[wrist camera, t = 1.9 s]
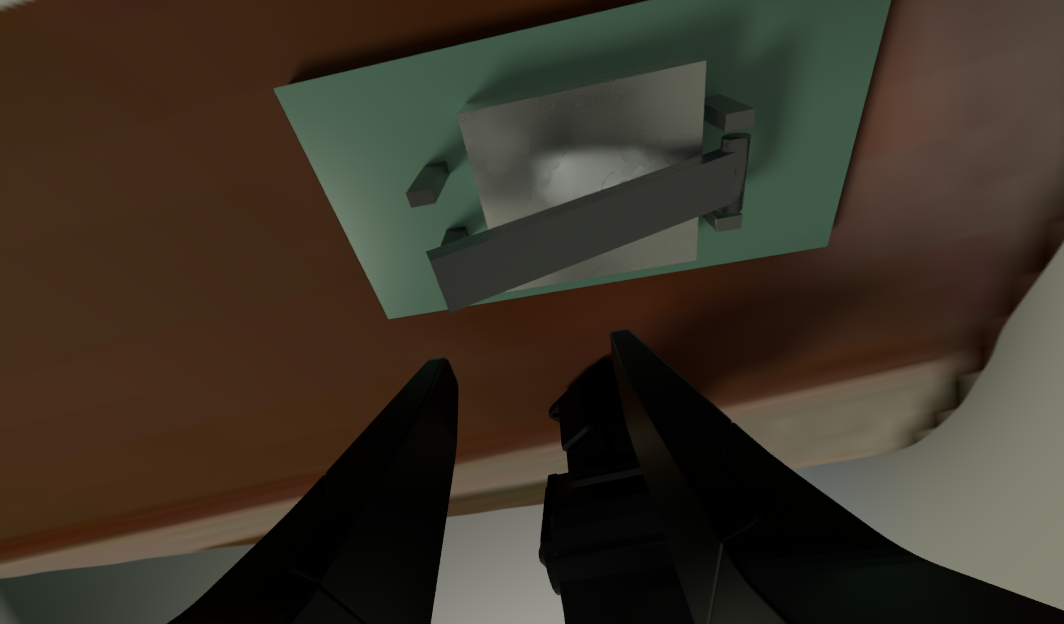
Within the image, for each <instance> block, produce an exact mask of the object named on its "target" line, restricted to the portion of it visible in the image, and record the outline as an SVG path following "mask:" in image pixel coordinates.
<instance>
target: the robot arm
mask: <svg viewBox="0 0 1064 624" xmlns="http://www.w3.org/2000/svg"><path fill="white" fill-rule="evenodd" d="M610 340H611V350H612V359H613V362H611V361H609V360H601V361H599V362H598V363H597V364H596V365H595V366H594V367H593V368H592V369H591V370H590V371H589V372H587V373H586V374H585V375H584V376H583V377H582V378H581V379H580V380H578V381H577V382H576V383H575V384H574V385H573V386H572V387H571V388H570V389H569V390H568V391H567V392H566V393H565V394H564V395H563V396H562V397H561V398H560V399H559V400H558V401H557V402H556V403H555V404H554V405H553V406H552V407H551V408H550V409H549V417H550V418H551V419H553V420H556V421H558V422H560V430H561V443H562V449H563V450H564V451H566V452H567V462H568V473H563V474H557V473H556V474H551V475H548V482H547V487H546V490H545V500H544V510H543V519H542V530H541V539H540V540H541V541H540V542H541V545H540V549H539V559H540V562H541V563H542V564H543V565H544V566H545V567H546V568H547V573H548V576H549V579H550V582H551V585H552V588H553V590H554V591H555V593H556V594H557V595H561V600H562V605H563V611H564V617H565V624H1064V611H1063V610H1061V609H1058V608H1055V607H1053V606H1050V605H1047V604H1044V603H1042V602H1039V601H1036V600H1033V599H1031V598H1028V597H1025V596H1022V595H1020V594H1017V593H1014V592H1011V591H1009V590H1006V589H1003V588H1000V587H998V586H995V585H992V584H989V583H987V582H984V581H981V580H978V579H976V578H973V577H970V576H967V575H965V574H962V573H959V572H957V571H954V570H951V569H948V568H946V567H943V566H940V565H938V564H935V563H932V562H930V561H928V560H926V559H924V558H921V557H919V556H917V555H915V554H913V553H912V552H910V551H907V550H906V549H904V548H902V547H900V546H899V545H897V544H895V543H894V542H892V541H890V540H889V539H887V538H886V537H884V536H883V535H881V534H880V533H878V532H877V531H875V530H874V529H873V528H871V527H870V526H868V525H867V524H866V523H864V522H863V521H861V520H860V519H859V518H857V517H856V516H855V515H853V514H852V513H850V512H849V511H848V510H846V509H845V508H844V507H842V506H841V505H839V504H838V503H837V502H835V501H834V500H833V499H831V498H830V497H828V496H827V495H826V494H824V493H823V492H821V491H820V490H819V489H817V488H816V487H815V486H813V485H812V484H810V483H809V482H808V481H806V480H805V479H804V478H802V477H801V476H799V475H798V474H797V473H795V472H794V471H793V470H791V469H790V468H789V467H787V466H786V465H785V464H784V463H782V462H781V461H780V460H778V459H777V458H776V457H774V456H773V455H772V454H770V453H769V452H768V451H767V450H766V449H764V448H763V447H762V446H761V445H760V444H759V443H757V442H756V441H755V440H754V439H753V438H751V437H750V436H749V435H748V434H747V433H746V432H744V431H743V430H742V429H741V428H740V427H739V426H738V425H737V424H735V423H732V421H731V419H730V418H728V417H727V416H726V415H725V414H724V413H723V412H722V411H721V410H719V409H718V408H717V407H716V406H715V405H714V404H713V403H711V402H710V401H709V400H708V399H707V398H706V397H705V396H704V395H702V394H701V393H700V392H699V391H698V390H697V389H696V388H695V387H693V386H692V385H691V384H690V383H689V382H688V381H687V380H685V379H684V378H683V377H682V376H681V375H680V374H679V373H678V372H676V371H675V370H674V369H673V368H672V367H671V366H670V365H668V364H667V363H666V362H665V361H664V360H663V359H662V358H661V357H659V356H658V355H657V354H656V353H655V352H654V351H653V350H652V349H650V348H649V347H648V346H647V345H646V344H645V343H644V342H642V341H641V340H640V339H639V338H638V337H637V336H636V335H635V334H633V333H632V332H631V331H630V330H628V329H622V330H616V331H612V332H611V333H610ZM605 366H606V368H602V367H605ZM457 424H458V383H457V380H456V377H455V375H454V373H453V370H452V368H451V366H450V363H449V361H448V360H447V359H446V358H444V357H441V358H435V359H430V360H428V361H427V362H426V363H425V364H424V365H423V366H422V368H421V369H420V370H419V371H418V372H417V373H416V374H415V375H414V376H413V377H412V378H411V380H410V381H409V382H408V383H407V384H406V385H405V386H404V387H403V388H402V389H401V391H400V392H399V393H398V394H397V395H396V396H395V397H394V398H393V399H392V400H391V402H390V403H389V404H388V405H387V406H386V407H385V408H384V409H383V410H382V411H381V413H380V414H379V415H378V416H377V417H376V418H375V419H374V420H373V421H372V422H371V423H370V425H369V426H368V427H367V428H366V429H365V430H364V431H363V432H362V433H361V434H360V436H359V437H358V438H357V439H356V440H355V441H354V442H353V443H352V444H351V445H350V447H349V448H348V449H347V450H346V451H345V452H344V453H343V454H342V455H341V456H340V458H339V459H338V460H337V461H336V462H335V463H334V464H333V465H332V466H331V467H330V468H329V470H328V471H327V472H326V475H323V476H322V477H321V478H320V479H319V480H318V481H317V483H316V484H315V485H314V486H313V487H312V488H311V489H310V490H309V491H308V492H307V493H306V494H305V496H304V497H303V498H302V499H301V500H300V501H299V502H298V503H297V504H296V505H295V506H294V507H293V508H292V509H291V510H290V511H289V512H288V513H287V514H286V515H285V516H284V517H283V518H282V519H281V520H280V521H279V522H278V523H277V524H276V525H275V526H274V527H273V528H272V529H271V530H270V531H269V532H268V533H267V534H266V535H265V536H264V537H263V538H262V539H261V540H260V541H259V542H258V543H257V544H256V545H255V546H254V547H253V548H252V549H251V550H250V551H248V552H247V553H246V554H245V555H244V556H243V557H242V558H241V559H240V560H239V561H238V562H237V563H236V564H235V565H234V566H233V567H232V568H231V569H230V570H229V571H228V572H227V573H226V574H225V575H223V577H222V578H220V579H219V580H218V581H217V582H216V583H215V584H214V585H213V586H212V587H211V588H210V589H209V590H208V591H207V592H206V593H205V594H204V595H203V596H201V597H200V598H199V599H198V600H197V601H196V602H195V603H194V604H193V605H191V606H190V607H189V608H188V609H186V610H185V611H184V612H183V613H181V614H180V615H179V616H177V617H176V618H174V619H173V620H171V621H170V622H168V623H167V624H431V618H432V612H433V605H434V598H435V592H436V585H437V577H438V571H439V565H440V557H441V551H442V544H443V538H444V531H445V524H446V518H447V511H448V504H449V497H450V491H451V484H452V477H453V470H454V464H455V457H456V448H457Z"/></svg>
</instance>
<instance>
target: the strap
mask: <svg viewBox="0 0 1064 624" xmlns="http://www.w3.org/2000/svg"><path fill="white" fill-rule="evenodd" d="M750 141H751V134H749V133H731V134H727V135H724V136H722V137H721V145H720V149H717V150H714V151H712V152H709V153H706V154H703V155H700V156H697V157H694V158H692V159H689V160H686V161H683V162H680V163H677V164H674V165H672V166H669V167H666V168H663V169H660V170H657V171H654V172H651V173H649V174H646V175H643V176H640V177H637V178H634V179H631V180H629V181H626V182H623V183H620V184H617V185H614V186H611V187H609V188H606V189H603V190H600V191H597V192H594V193H591V194H589V195H586V196H583V197H580V198H577V199H574V200H571V201H569V202H566V203H563V204H560V205H557V206H554V207H551V208H549V209H546V210H543V211H540V212H537V213H534V214H531V215H529V216H526V217H523V218H520V219H517V220H514V221H511V222H509V223H506V224H503V225H500V226H497V227H494V228H491V229H489V230H486V231H483V232H480V233H477V234H474V235H471V236H469V237H466V238H463V239H460V240H457V241H454V242H451V243H449V244H446V245H443V246H440V247H437V248H434V249H431V250H429V251H426V254H427V256H428V259H429V262H430V264H431V267H432V269H433V272H434V275H435V277H436V280H437V282H438V285H439V288H440V290H441V293H442V295H443V298H444V301H445V303H446V305H447V307H448V310H449V312H450V313H451V312H454V311H456V310H459V309H461V308H464V307H467V306H469V305H472V304H474V303H477V302H479V301H482V300H485V299H487V298H490V297H492V296H495V295H497V294H500V293H503V292H505V291H508V290H510V289H513V288H516V287H518V286H521V285H523V284H526V283H528V282H531V281H534V280H536V279H539V278H541V277H544V276H547V275H549V274H552V273H554V272H557V271H559V270H562V269H565V268H567V267H570V266H572V265H575V264H578V263H580V262H583V261H585V260H588V259H590V258H593V257H596V256H598V255H601V254H603V253H606V252H608V251H611V250H614V249H616V248H619V247H621V246H624V245H627V244H629V243H632V242H634V241H637V240H639V239H642V238H645V237H647V236H650V235H652V234H655V233H658V232H660V231H663V230H665V229H668V228H670V227H673V226H676V225H678V224H681V223H683V222H686V221H689V220H691V219H694V218H696V217H699V216H701V215H704V214H707V213H709V212H712V211H714V210H717V211H718V212H721V213H736V212H739V211H741V210H742V209H743V201H744V193H745V184H746V176H747V167H748V159H749V150H750Z"/></svg>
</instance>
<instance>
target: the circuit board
mask: <svg viewBox="0 0 1064 624" xmlns="http://www.w3.org/2000/svg"><path fill="white" fill-rule="evenodd" d="M890 3H891V0H646V1H642V2H637V3H633V4H629V5H625V6H620V7H616V8H612V9H607V10H603V11H599V12H595V13H590V14H586V15H582V16H578V17H573V18H569V19H565V20H561V21H556V22H552V23H548V24H544V25H539V26H535V27H531V28H527V29H522V30H518V31H514V32H509V33H505V34H501V35H497V36H492V37H488V38H484V39H480V40H475V41H471V42H467V43H463V44H458V45H454V46H450V47H446V48H441V49H437V50H433V51H428V52H424V53H420V54H416V55H411V56H407V57H403V58H399V59H394V60H390V61H386V62H382V63H377V64H373V65H369V66H365V67H360V68H356V69H352V70H348V71H343V72H339V73H335V74H330V75H326V76H322V77H318V78H313V79H309V80H305V81H301V82H296V83H292V84H288V85H284V86H281V87H277V88H274V91H275V93H276V95H277V97H278V99H279V101H280V103H281V105H282V107H283V109H284V111H285V113H286V115H287V117H288V119H289V121H290V123H291V125H292V127H293V129H294V131H295V133H296V135H297V137H298V139H299V141H300V143H301V145H302V147H303V149H304V151H305V153H306V155H307V157H308V159H309V161H310V163H311V165H312V167H313V169H314V171H315V173H316V175H317V177H318V179H319V181H320V183H321V185H322V187H323V189H324V191H325V193H326V195H327V197H328V199H329V201H330V203H331V205H332V207H333V209H334V211H335V213H336V215H337V217H338V219H339V221H340V223H341V225H342V227H343V229H344V231H345V233H346V235H347V237H348V239H349V241H350V243H351V245H352V247H353V249H354V251H355V253H356V255H357V257H358V259H359V261H360V263H361V265H362V267H363V269H364V271H365V273H366V275H367V277H368V279H369V281H370V283H371V285H372V287H373V289H374V291H375V293H376V295H377V297H378V299H379V301H380V303H381V305H382V307H383V309H384V311H385V313H386V315H387V317H388V319H392V318H399V317H405V316H411V315H417V314H423V313H429V312H435V311H441V310H447V309H448V307H447V305H446V303H445V301H444V298H443V295H442V293H441V290H440V288H439V285H438V282H437V280H436V277H435V275H434V272H433V269H432V267H431V264H430V262H429V259H428V256H427V254H426V251H429V250H431V249H434V248H437V247H440V246H441V243H442V240H443V238H444V235H445V232H446V230H447V229H452V228H458V227H463V226H466V228H467V231H468V234H469V236H471V235H474V234H477V233H480V232H483V231H486V230H488V226H487V223H486V219H485V216H484V212H483V208H482V205H481V201H480V197H479V194H478V190H477V186H476V183H475V179H474V176H473V172H472V168H471V165H470V161H469V157H468V154H467V150H466V147H465V143H464V139H463V136H462V132H461V128H460V125H459V121H458V117H457V113H458V112H459V110H460V109H461V108H462V106H463V105H464V104H465V103H468V102H473V101H477V100H482V99H486V98H491V97H495V96H500V95H505V94H509V93H514V92H518V91H523V90H527V89H532V88H537V87H541V86H546V85H550V84H555V83H559V82H564V81H569V80H573V79H578V78H582V77H587V76H591V75H596V74H600V73H605V72H610V71H614V70H619V69H623V68H628V67H632V66H637V65H642V64H646V63H651V62H655V61H660V60H664V59H669V58H674V57H678V56H683V55H687V56H691V57H695V58H699V59H703V60H706V79H705V98H706V97H711V96H715V95H720V94H721V95H723V96H726V97H728V98H731V99H733V100H736V101H738V102H740V103H743V104H745V105H748V106H750V107H753V108H755V117H754V126H753V127H749V128H744V129H739V130H734V131H729V132H723V131H722V130H720V129H718V128H717V127H715V126H713V125H711V124H710V123H708V122H706V121H705V120H703V138H702V155H703V154H706V153H709V152H712V151H714V150H717V149H720V145H721V137H722V136H724V135H727V134H731V133H749V134H751V141H750V150H749V159H748V167H747V176H746V184H745V193H744V201H743V209H742V210H741V211H740V212H741V213H742V214H743V218H742V227H741V228H739V229H733V230H727V231H722V232H716V231H715V230H714V229H713V228H712V226H711V225H710V224H709V223H708V222H707V221H706V220H705V218H704V217H703V216H702V215H701V216H699V217H698V236H697V255H696V260H695V261H689V262H683V263H677V264H671V265H665V266H659V267H653V268H647V269H641V270H635V271H629V272H623V273H618V274H612V275H606V276H600V277H594V278H588V279H582V280H576V281H570V282H564V283H558V284H552V285H546V286H540V287H534V288H528V289H522V290H516V291H510V292H503V293H500V294H497V295H495V296H492V297H490V298H487V299H485V300H482V301H479V302H477V303H474V304H472V305H477V304H483V303H489V302H495V301H501V300H507V299H513V298H519V297H525V296H531V295H537V294H543V293H549V292H555V291H561V290H568V289H574V288H580V287H586V286H592V285H598V284H604V283H610V282H616V281H622V280H628V279H634V278H640V277H646V276H652V275H658V274H664V273H670V272H676V271H682V270H688V269H694V268H700V267H706V266H712V265H718V264H724V263H731V262H737V261H743V260H749V259H755V258H761V257H767V256H773V255H779V254H785V253H791V252H797V251H803V250H809V249H815V248H821V247H827V246H828V242H829V238H830V234H831V230H832V226H833V223H834V219H835V215H836V211H837V207H838V203H839V199H840V196H841V192H842V188H843V184H844V180H845V176H846V172H847V169H848V165H849V161H850V157H851V153H852V149H853V145H854V142H855V138H856V134H857V130H858V126H859V122H860V119H861V115H862V111H863V107H864V103H865V99H866V95H867V92H868V88H869V84H870V80H871V76H872V72H873V68H874V65H875V61H876V57H877V53H878V49H879V45H880V41H881V38H882V34H883V30H884V26H885V22H886V18H887V14H888V11H889V7H890ZM443 161H446V163H447V166H448V170H449V173H450V175H449V177H448V179H447V181H446V183H445V185H444V187H443V189H442V191H441V193H440V195H439V198H438V200H437V202H436V203H435V204H429V205H424V206H419V207H414V208H411V206H410V204H409V201H408V198H407V196H406V192H407V190H408V189H409V187H410V186H411V185H412V183H413V182H414V180H415V179H416V177H417V176H418V174H419V173H420V171H421V170H422V168H423V167H424V166H425V165H429V164H434V163H439V162H443ZM469 306H471V305H469Z"/></svg>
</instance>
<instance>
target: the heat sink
mask: <svg viewBox="0 0 1064 624" xmlns="http://www.w3.org/2000/svg"><path fill="white" fill-rule="evenodd" d="M705 79H706V60H703V59H699V58H695V57H691V56H687V55H683V56H678V57H674V58H669V59H664V60H660V61H655V62H651V63H646V64H642V65H637V66H632V67H628V68H623V69H619V70H614V71H610V72H605V73H600V74H596V75H591V76H587V77H582V78H578V79H573V80H569V81H564V82H559V83H555V84H550V85H546V86H541V87H537V88H532V89H527V90H523V91H518V92H514V93H509V94H505V95H500V96H495V97H491V98H486V99H482V100H477V101H473V102H468V103H465V104H464V105H463V106H462V108H461V109H460V110H459V112H458V113H457V117H458V121H459V125H460V128H461V132H462V136H463V139H464V143H465V147H466V150H467V154H468V157H469V161H470V165H471V168H472V172H473V176H474V179H475V183H476V186H477V190H478V194H479V197H480V201H481V205H482V208H483V212H484V216H485V219H486V223H487V226H488V230H489V229H491V228H494V227H497V226H500V225H503V224H506V223H509V222H511V221H514V220H517V219H520V218H523V217H526V216H529V215H531V214H534V213H537V212H540V211H543V210H546V209H549V208H551V207H554V206H557V205H560V204H563V203H566V202H569V201H571V200H574V199H577V198H580V197H583V196H586V195H589V194H591V193H594V192H597V191H600V190H603V189H606V188H609V187H611V186H614V185H617V184H620V183H623V182H626V181H629V180H631V179H634V178H637V177H640V176H643V175H646V174H649V173H651V172H654V171H657V170H660V169H663V168H666V167H669V166H672V165H674V164H677V163H680V162H683V161H686V160H689V159H692V158H694V157H697V156H700V155H702V138H703V120H705V121H706V122H708V123H710V124H711V125H713V126H715V127H717V128H718V129H720V130H722V131H723V132H729V131H734V130H739V129H744V128H749V127H753V126H754V117H755V108H753V107H750V106H748V105H745V104H743V103H740V102H738V101H736V100H733V99H731V98H728V97H726V96H723V95H721V94H720V95H715V96H711V97H706V98H705ZM449 175H450V173H449V170H448V166H447V163H446V161H443V162H439V163H434V164H429V165H425V166H424V167H423V168H422V170H421V171H420V173H419V174H418V176H417V177H416V179H415V180H414V182H413V183H412V185H411V186H410V187H409V189H408V190H407V192H406V196H407V198H408V201H409V204H410V206H411V208H414V207H419V206H424V205H429V204H435V203H436V202H437V200H438V198H439V195H440V193H441V191H442V189H443V187H444V185H445V183H446V181H447V179H448V177H449ZM702 216H703V217H704V218H705V220H706V221H707V222H708V223H709V224H710V225H711V226H712V228H713V229H714V230H715V231H716V232H722V231H727V230H733V229H739V228H741V227H742V218H743V214H742V213H741V212H740V211H739V212H736V213H721V212H718V211H717V210H714V211H712V212H709V213H707V214H704V215H702ZM697 236H698V217H696V218H694V219H691V220H689V221H686V222H683V223H681V224H678V225H676V226H673V227H670V228H668V229H665V230H663V231H660V232H658V233H655V234H652V235H650V236H647V237H645V238H642V239H639V240H637V241H634V242H632V243H629V244H627V245H624V246H621V247H619V248H616V249H614V250H611V251H608V252H606V253H603V254H601V255H598V256H596V257H593V258H590V259H588V260H585V261H583V262H580V263H578V264H575V265H572V266H570V267H567V268H565V269H562V270H559V271H557V272H554V273H552V274H549V275H547V276H544V277H541V278H539V279H536V280H534V281H531V282H528V283H526V284H523V285H521V286H518V287H516V288H513V289H510V290H508V291H505V292H510V291H516V290H522V289H528V288H534V287H540V286H546V285H552V284H558V283H564V282H570V281H576V280H582V279H588V278H594V277H600V276H606V275H612V274H618V273H623V272H629V271H635V270H641V269H647V268H653V267H659V266H665V265H671V264H677V263H683V262H689V261H695V260H696V255H697ZM466 237H469V234H468V231H467V228H466V226H463V227H458V228H452V229H447V230H446V232H445V235H444V238H443V240H442V243H441V246H443V245H446V244H449V243H451V242H454V241H457V240H460V239H463V238H466Z"/></svg>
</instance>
